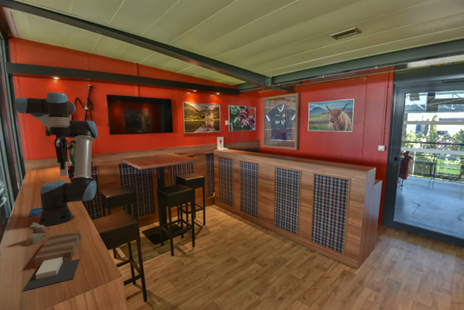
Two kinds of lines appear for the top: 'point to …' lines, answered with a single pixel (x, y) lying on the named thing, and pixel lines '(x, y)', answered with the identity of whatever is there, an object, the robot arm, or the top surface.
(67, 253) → the brown wooden flat slab
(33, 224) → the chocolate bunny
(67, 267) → the mat
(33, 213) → the handheld gaming device
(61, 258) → the block
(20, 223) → the top surface
